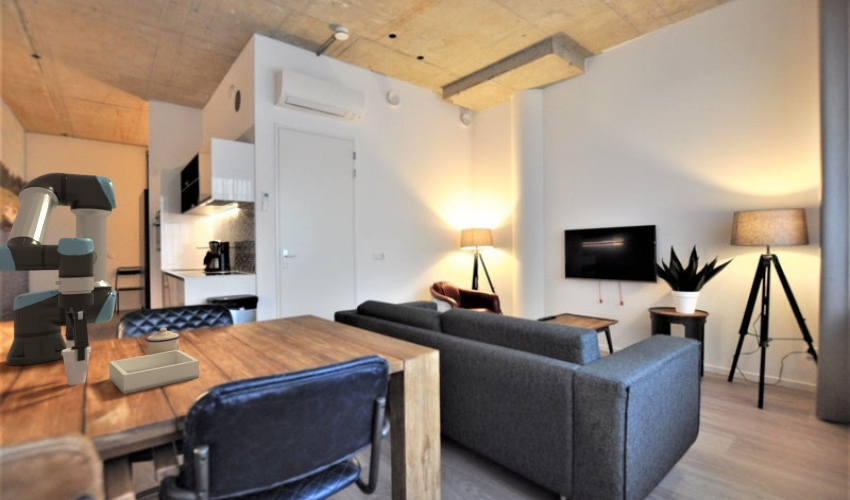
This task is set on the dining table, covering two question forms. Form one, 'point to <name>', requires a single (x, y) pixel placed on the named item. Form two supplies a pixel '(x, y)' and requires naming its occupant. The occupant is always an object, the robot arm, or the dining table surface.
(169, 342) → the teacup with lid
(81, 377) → the smoothie
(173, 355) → the bin
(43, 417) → the dining table surface
